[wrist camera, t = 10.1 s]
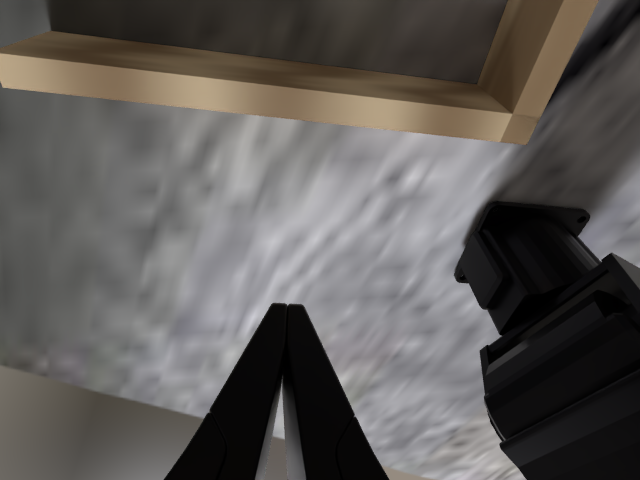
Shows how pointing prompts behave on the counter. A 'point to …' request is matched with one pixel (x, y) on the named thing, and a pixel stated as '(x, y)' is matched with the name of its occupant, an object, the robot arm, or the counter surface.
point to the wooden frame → (320, 78)
